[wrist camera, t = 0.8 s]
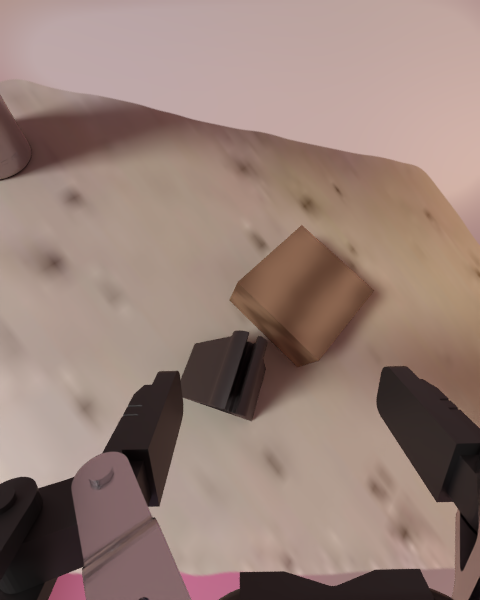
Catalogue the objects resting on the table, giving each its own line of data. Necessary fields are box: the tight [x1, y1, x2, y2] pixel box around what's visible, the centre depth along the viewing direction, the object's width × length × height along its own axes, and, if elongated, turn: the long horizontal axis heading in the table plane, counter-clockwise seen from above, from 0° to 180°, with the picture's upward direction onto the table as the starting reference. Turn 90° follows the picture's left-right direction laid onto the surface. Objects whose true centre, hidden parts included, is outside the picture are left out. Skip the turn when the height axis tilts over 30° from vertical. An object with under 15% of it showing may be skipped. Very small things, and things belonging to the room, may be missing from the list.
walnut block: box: [230, 226, 374, 367], centre depth 34 cm, size 12×12×6 cm
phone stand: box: [181, 331, 267, 421], centre depth 26 cm, size 9×6×12 cm, turn 72°
